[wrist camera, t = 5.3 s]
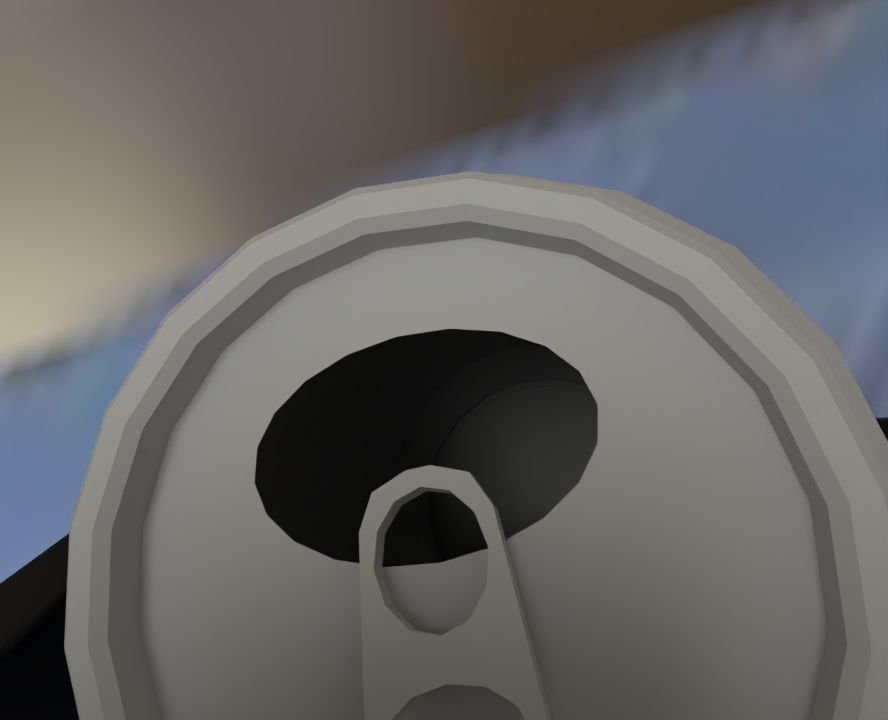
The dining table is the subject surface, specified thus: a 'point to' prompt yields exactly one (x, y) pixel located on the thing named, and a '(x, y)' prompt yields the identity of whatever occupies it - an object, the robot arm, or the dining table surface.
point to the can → (483, 479)
